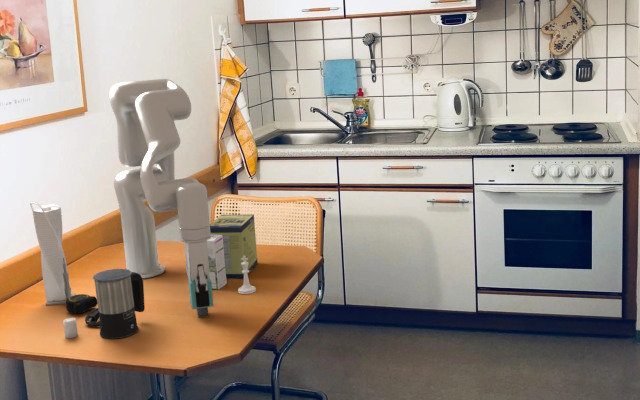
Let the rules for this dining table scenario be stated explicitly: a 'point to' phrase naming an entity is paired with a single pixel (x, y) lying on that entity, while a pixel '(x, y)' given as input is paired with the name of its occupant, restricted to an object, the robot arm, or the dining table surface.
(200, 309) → the post
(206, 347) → the dining table surface
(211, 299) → the teal rectangular block
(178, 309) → the dining table surface
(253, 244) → the protein box
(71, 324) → the short round post
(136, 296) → the milk frother
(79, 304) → the tape measure
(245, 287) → the chess piece
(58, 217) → the skyscraper
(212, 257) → the syrup box
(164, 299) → the dining table surface
